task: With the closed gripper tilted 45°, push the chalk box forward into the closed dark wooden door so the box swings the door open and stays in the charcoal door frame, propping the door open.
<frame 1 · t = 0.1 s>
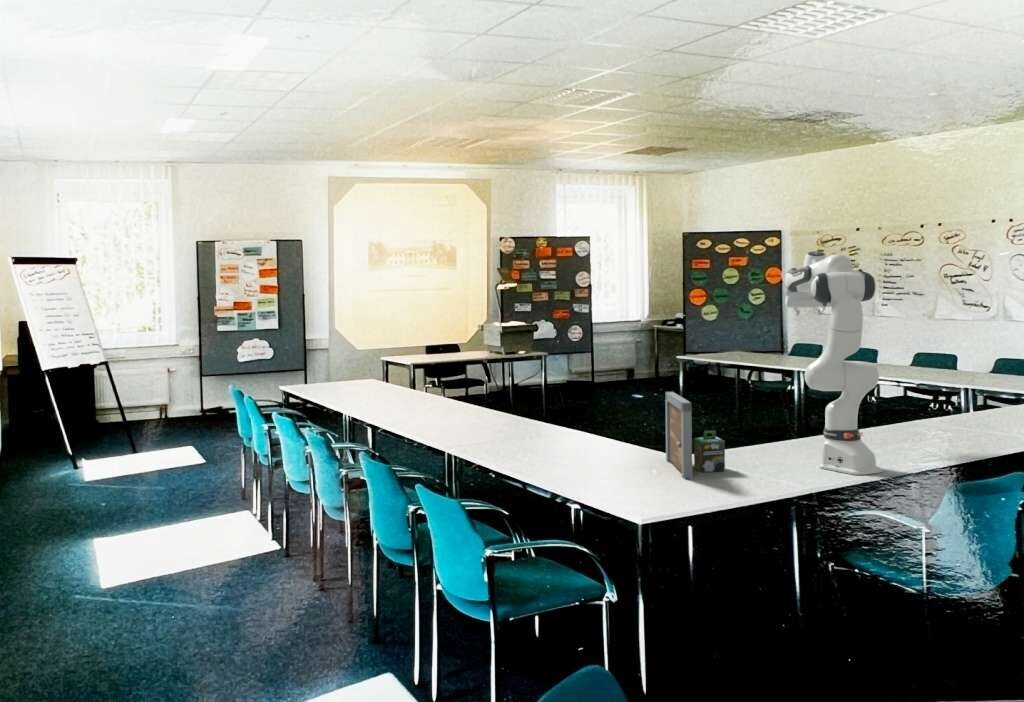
hand: (808, 314, 354), 54 cm above the table, tool tilted 30°, fingers open, 8 cm apart
door frame: (678, 468, 305), on the table
door: (676, 437, 304), point 12 cm above the table, hinge at 0.0°
chalk box: (709, 470, 303), on the table
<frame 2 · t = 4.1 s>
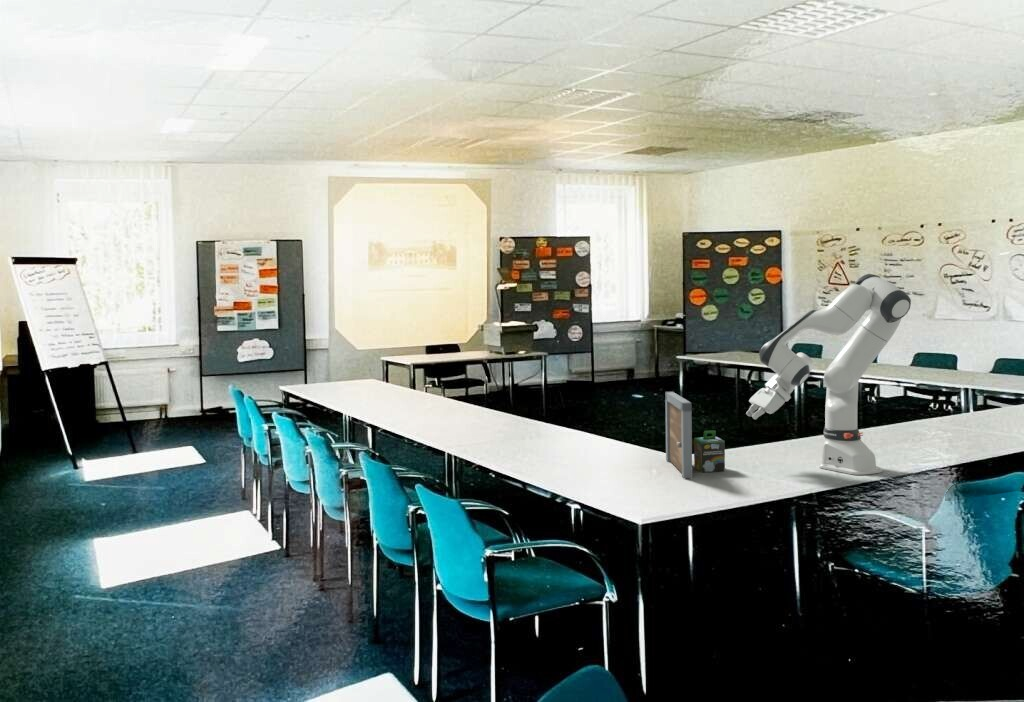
hand: (750, 416, 301), 19 cm above the table, tool tilted 45°, fingers open, 5 cm apart
nothing on the table moved.
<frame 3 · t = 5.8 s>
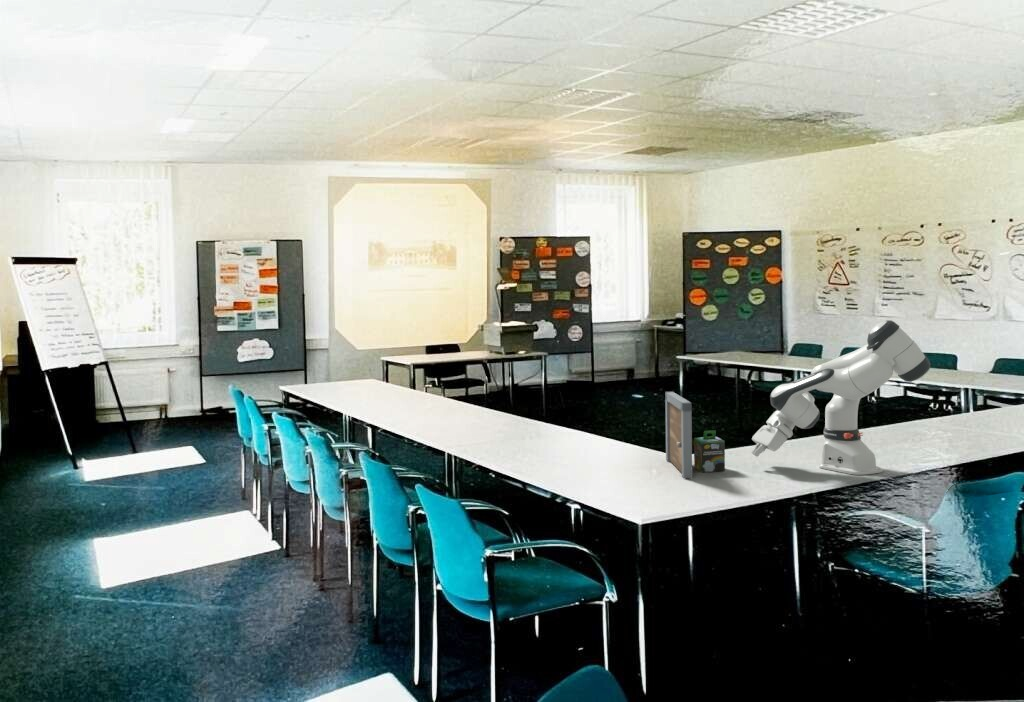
hand: (754, 454, 301), 5 cm above the table, tool tilted 40°, fingers closed
nothing on the table moved.
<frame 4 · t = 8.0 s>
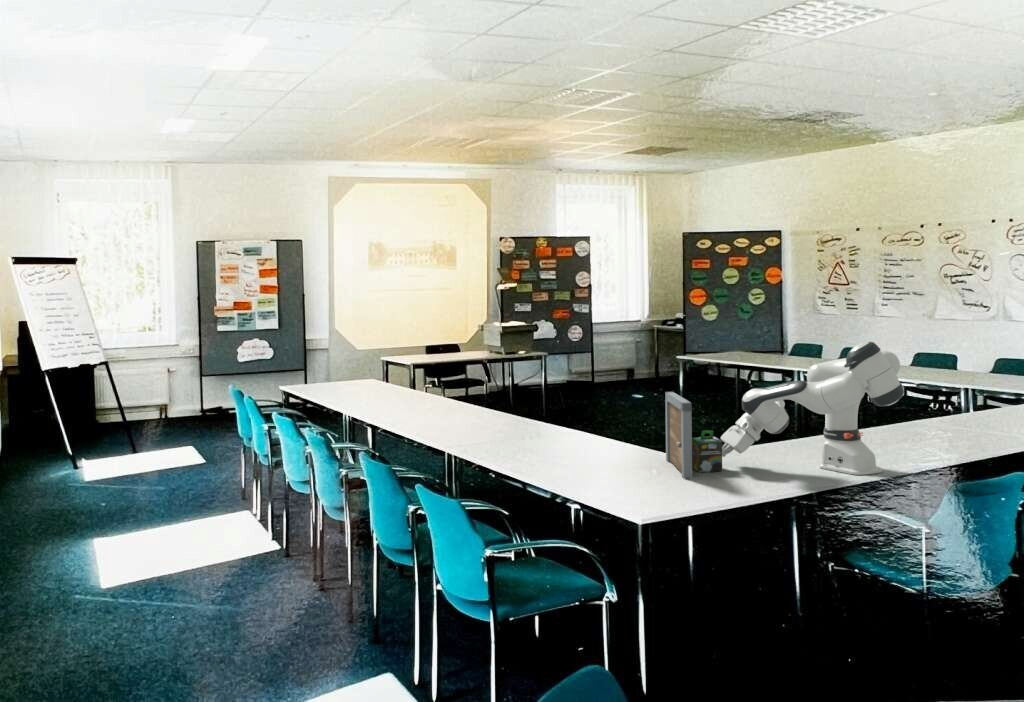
hand: (720, 454, 302), 5 cm above the table, tool tilted 45°, fingers closed
chalk box: (706, 470, 303), on the table, touching gripper
everything else where it was.
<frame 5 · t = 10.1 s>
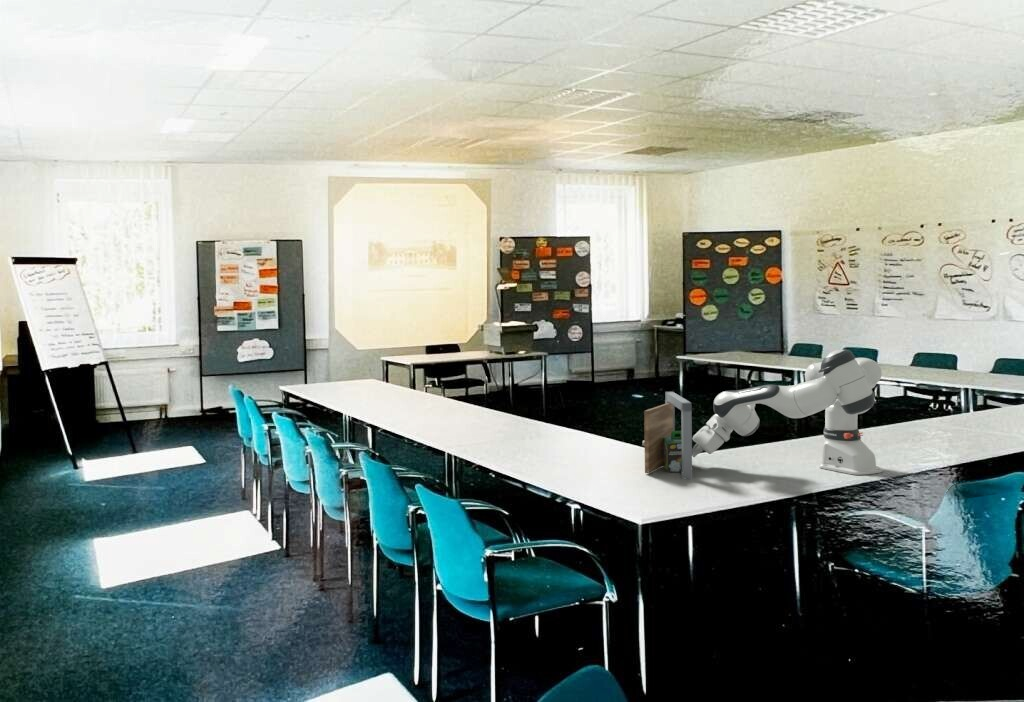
hand: (691, 455, 303), 5 cm above the table, tool tilted 45°, fingers closed, pressing on chalk box
door: (657, 436, 306), point 12 cm above the table, hinge at 33.5°, touching chalk box
chalk box: (677, 470, 304), on the table, touching door, gripper
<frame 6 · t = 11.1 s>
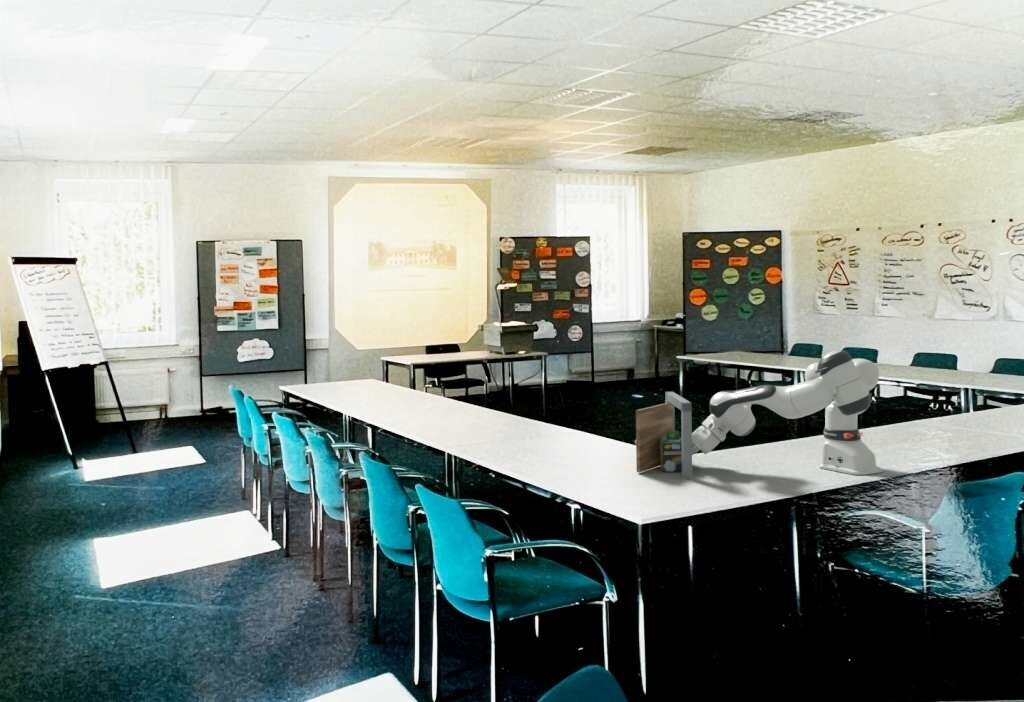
hand: (687, 455, 303), 5 cm above the table, tool tilted 45°, fingers closed
door: (653, 436, 307), point 12 cm above the table, hinge at 41.8°, touching chalk box
chalk box: (673, 470, 304), on the table, touching door, gripper
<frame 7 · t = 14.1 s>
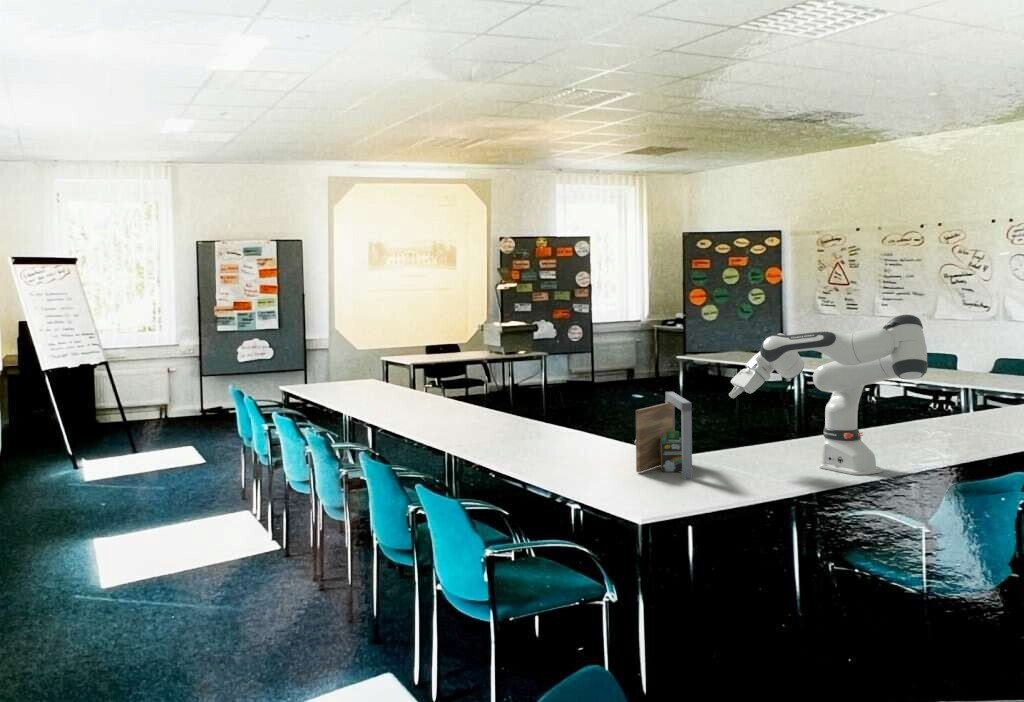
hand: (730, 396, 301), 27 cm above the table, tool tilted 45°, fingers closed
door: (653, 436, 307), point 12 cm above the table, hinge at 42.0°
chalk box: (673, 470, 304), on the table
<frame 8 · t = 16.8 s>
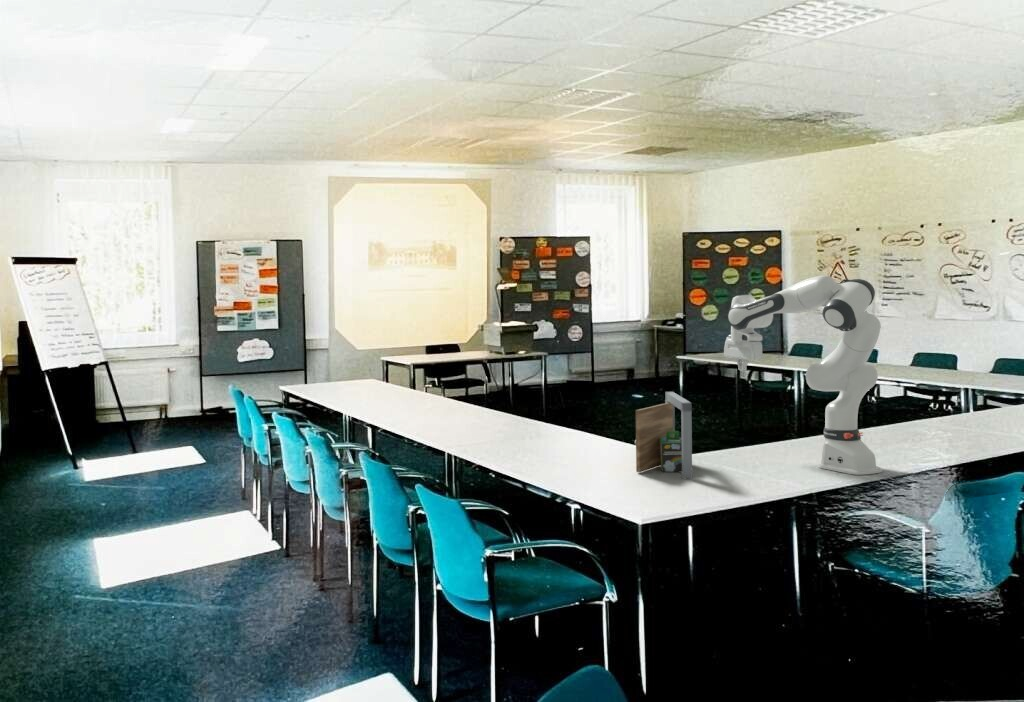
hand: (742, 370, 323), 34 cm above the table, tool pointing down, fingers closed
nothing on the table moved.
at the end: door at +42° (first picture: +0°); chalk box 2.3 cm from the door frame (horizontally); chalk box tilted 0° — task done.
